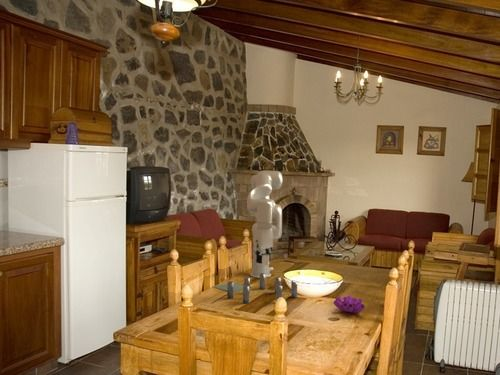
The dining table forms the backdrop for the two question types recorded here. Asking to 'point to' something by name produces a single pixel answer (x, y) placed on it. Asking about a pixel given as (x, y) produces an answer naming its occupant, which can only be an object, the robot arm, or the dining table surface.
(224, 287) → the rubber mat
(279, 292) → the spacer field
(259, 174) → the robot arm
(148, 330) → the dining table surface
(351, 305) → the purple knobbly lump
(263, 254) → the hex nut
